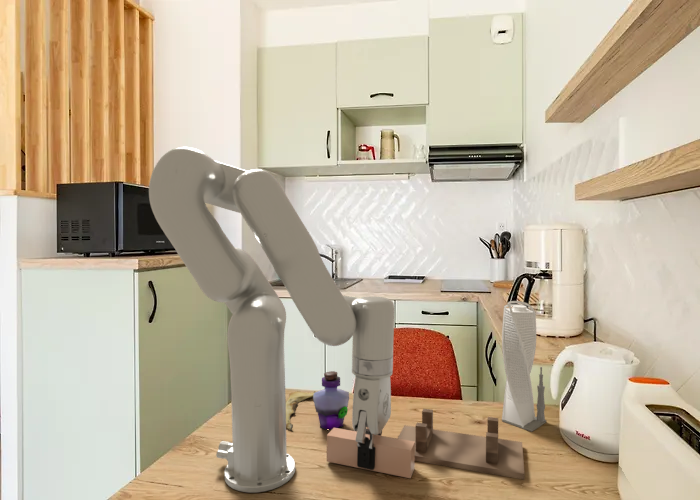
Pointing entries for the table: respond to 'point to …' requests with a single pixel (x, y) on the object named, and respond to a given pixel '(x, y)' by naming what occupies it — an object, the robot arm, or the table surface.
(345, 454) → the pink rectangular block
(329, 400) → the potion bottle
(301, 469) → the table surface
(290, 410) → the animal bone
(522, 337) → the skyscraper
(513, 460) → the rack
